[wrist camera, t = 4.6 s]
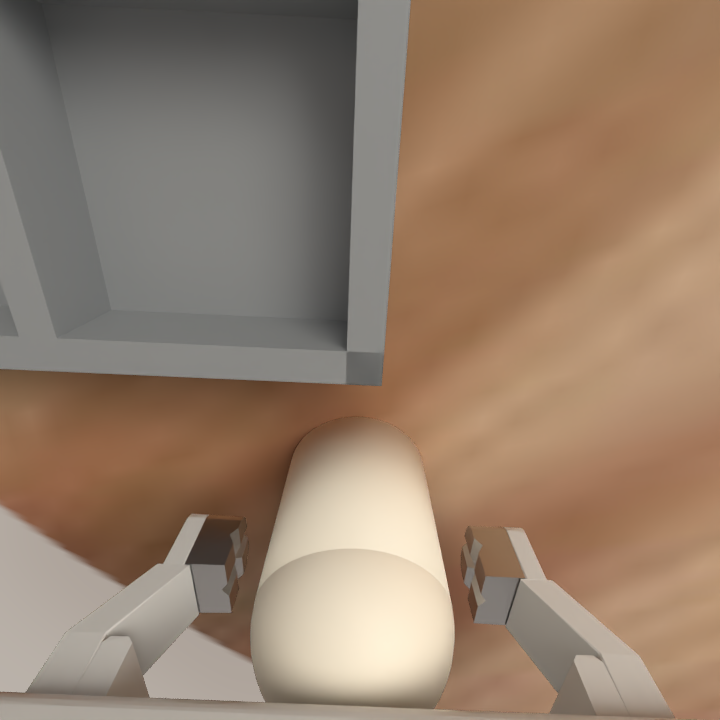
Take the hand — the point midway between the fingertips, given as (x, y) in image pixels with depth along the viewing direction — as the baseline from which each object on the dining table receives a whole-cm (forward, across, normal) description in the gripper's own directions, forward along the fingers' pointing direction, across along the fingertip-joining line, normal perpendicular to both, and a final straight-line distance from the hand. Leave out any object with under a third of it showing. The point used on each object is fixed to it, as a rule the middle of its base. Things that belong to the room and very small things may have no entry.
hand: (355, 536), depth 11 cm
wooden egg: (+3, 0, 0) cm, 3 cm away
